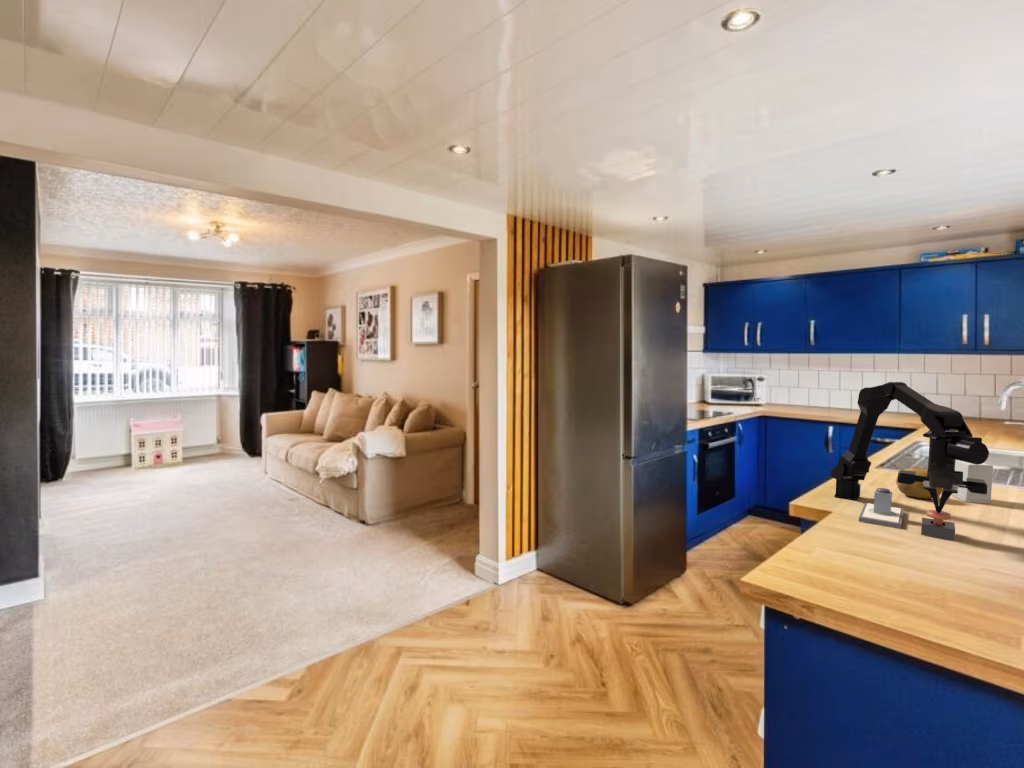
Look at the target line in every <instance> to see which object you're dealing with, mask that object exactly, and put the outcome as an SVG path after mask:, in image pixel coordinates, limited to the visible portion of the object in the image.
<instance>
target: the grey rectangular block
mask: <svg viewBox="0 0 1024 768" xmlns="http://www.w3.org/2000/svg"><path fill="white" fill-rule="evenodd" d="M873 494H874V496H873V497H874V498H873V499H874V500H873V504H874V512H875V513H881V514H887V515H890V513H891V507H892V499H893V498H892V497H893V491H891V489H888V488H886V487H885V488H884V487H877V488H876V489H875V491H874V493H873Z"/></svg>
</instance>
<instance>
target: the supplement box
mask: <svg viewBox="0 0 1024 768" xmlns="http://www.w3.org/2000/svg"><path fill="white" fill-rule="evenodd" d="M993 468H994V465H992V464H988V463H985V462H984V463H982V464H979V465H976V464H972V463H968V462H964V461H960V460H956V462H955V471H961V472H963V481H966V480H967V478H973V479H982V480H984V481H985V482H986V483H987V494H979V493H971V492H970V491H969V490H968V489H967V488H962V487H958V488H957V489H958V493H953V494H952V496H953V498H954V497H955V498H956V499H958V500H961V501H964V502H965V503H966V502H967V503H977V504H978V503H979V504H981V503H982V504H991V502H992V487H993V483H992V482H993V470H994V469H993Z"/></svg>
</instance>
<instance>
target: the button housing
mask: <svg viewBox="0 0 1024 768" xmlns="http://www.w3.org/2000/svg"><path fill="white" fill-rule="evenodd" d="M933 521H934V518H930V517H929V518H928V517H921V528H920V529H921V530H920V535H921V536H925V537H931V538H932V537H933V538H939V539H944V540H949V541H955V538H956V525H955V522H953V521H948V520H943V526H942V525H936V524H933Z"/></svg>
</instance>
